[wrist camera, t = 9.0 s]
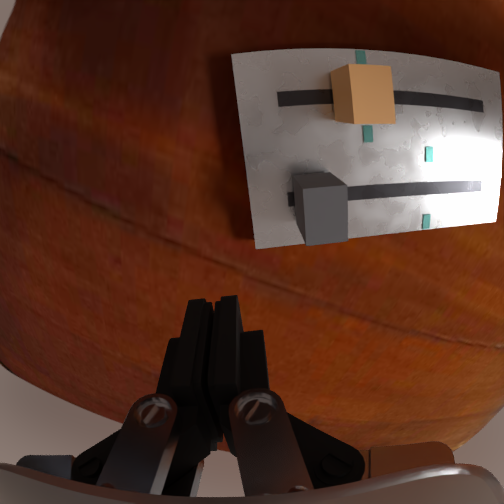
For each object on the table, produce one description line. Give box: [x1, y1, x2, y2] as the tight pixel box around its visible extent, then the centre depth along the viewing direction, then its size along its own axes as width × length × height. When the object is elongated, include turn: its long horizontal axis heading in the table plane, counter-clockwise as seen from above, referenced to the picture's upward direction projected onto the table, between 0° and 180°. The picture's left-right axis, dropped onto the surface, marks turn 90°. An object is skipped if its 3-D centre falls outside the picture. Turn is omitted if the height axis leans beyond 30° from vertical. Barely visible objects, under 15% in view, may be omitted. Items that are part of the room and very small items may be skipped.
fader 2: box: [330, 64, 396, 124], centre depth 19 cm, size 3×4×4 cm
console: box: [231, 48, 502, 249], centre depth 24 cm, size 26×16×2 cm, turn 97°
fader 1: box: [293, 172, 348, 246], centre depth 23 cm, size 3×4×4 cm
